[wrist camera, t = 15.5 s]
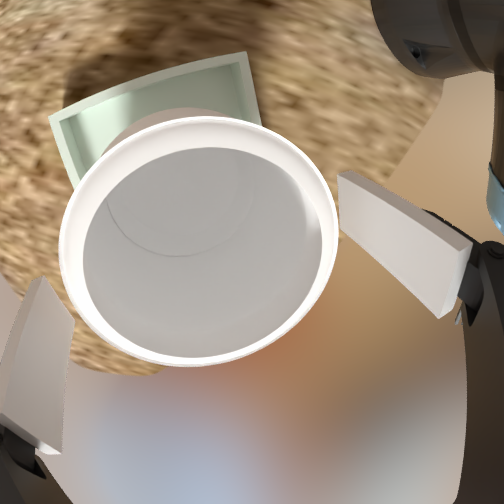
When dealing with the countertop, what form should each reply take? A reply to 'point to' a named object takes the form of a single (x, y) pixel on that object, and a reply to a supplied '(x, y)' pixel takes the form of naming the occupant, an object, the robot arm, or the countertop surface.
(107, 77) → the countertop surface
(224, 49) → the countertop surface
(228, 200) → the jar
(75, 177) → the tray
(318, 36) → the countertop surface
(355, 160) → the countertop surface
